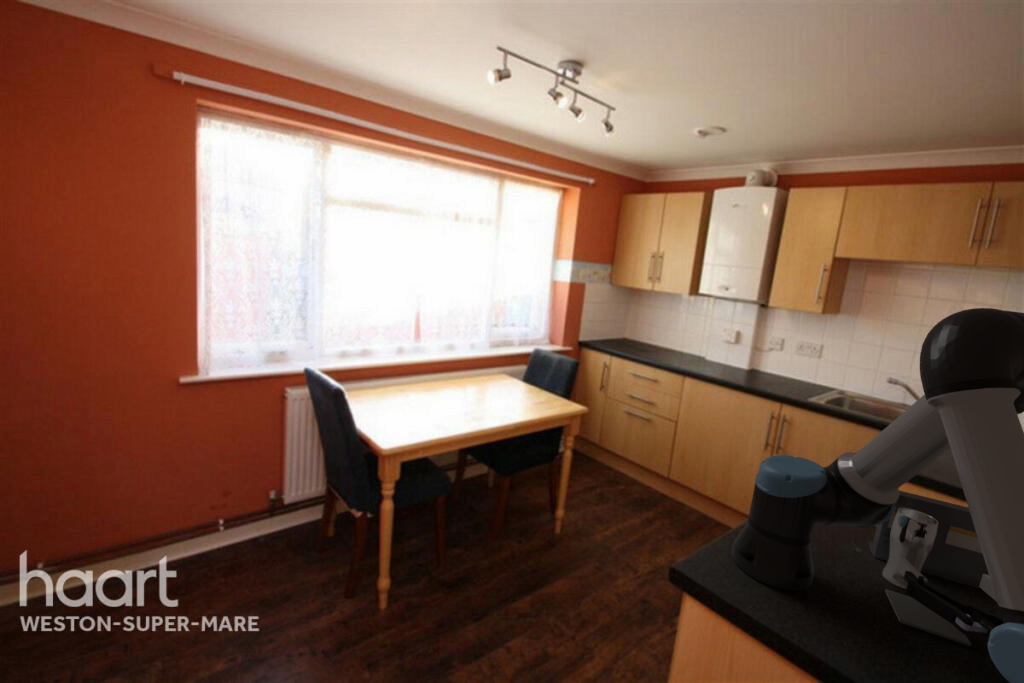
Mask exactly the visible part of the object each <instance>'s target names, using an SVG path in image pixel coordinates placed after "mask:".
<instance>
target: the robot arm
mask: <svg viewBox="0 0 1024 683" xmlns="http://www.w3.org/2000/svg"><path fill="white" fill-rule="evenodd" d="M919 375H920V381H921V385H922V389H923V393H924V394H923V395H922V396H921V397H920V398H919V399H917V400H916V401H915V402H914V403H912V405H911V406H909V407H908V409H906V410H904V412H902V413H901V414H899V416H898V417H897V418H896V419H895V420H893V421H892V422H891V423H890V424H888V426H886V427H884V429H883V430H881V432H879V433H878V434H876V436H874V437H873V439H871V440H870V441H869V442H868V443H867V444H865V446H863V447H861V449H860V450H858V451H857V452H852V451H850V452H849V451H848V452H844V453H842V454H841V455H839V456H838V457H837V458H836V459H835V460H834V461H832V463H830V464H829V465H828V466H822V465H820V464H819V463H817V462H816V461H813V460H810V459H807V458H804V457H800V456H798V457H795V456H793V455H789V454H788V455H786V454H785V455H784V454H779V455H778V454H777V455H772V456H768V457H765V458H764V459H763V460H762V461H761V462H760V465H759V468H758V471H757V473H756V476H755V480H754V481H755V482H754V483H755V484H754V487H753V493H752V498H751V503H750V508H749V511H748V512H749V513H748V518H747V522H746V523H745V524H744V526H743V528H742V529H741V531H740V532H739V533H738V535H737V537H736V538H735V540H734V541H733V544H732V549H731V557H732V560H733V561H734V563H735V564H736V565H737V566H738V568H740V569H741V570H742V571H743V572H744V573H746V574H747V575H749V576H750V577H752V578H754V579H755V580H757V581H759V582H761V583H763V584H766V585H768V586H770V587H773V588H777V589H781V590H784V591H789V592H790V591H793V592H800V591H805V590H808V589H810V588H811V587H812V585H813V581H814V576H815V570H814V563H813V555H812V554H813V553H812V549H811V547H812V546H811V543H812V540H813V539H812V538H813V534H814V530H815V527H816V526H821V527H823V526H824V527H825V526H827V527H828V526H831V527H832V526H833V527H856V528H869V527H873V526H877V525H879V524H882V523H884V522H886V521H887V520H889V519H890V518H891V516H892V515H893V514H894V512H895V509H896V507H895V506H894V504H895V503H897V500H898V498H899V491H900V489H899V488H901V486H903V485H905V483H907V482H908V481H911V479H913V478H914V477H915V476H917V475H918V474H919V473H921V472H922V471H924V470H925V469H927V468H928V467H929V466H931V465H932V464H933V463H935V462H936V461H937V460H939V459H941V457H943V456H944V455H946V454H947V453H948V452H950V451H951V455H952V458H953V460H954V464H955V468H956V471H957V473H958V474H957V475H958V477H959V481H960V484H961V487H962V490H963V493H964V496H965V500H966V503H967V507H969V510H970V514H971V517H972V520H973V523H974V527H975V530H976V533H977V537H978V540H979V543H980V546H981V550H982V553H983V556H984V560H985V563H986V566H987V569H988V575H986V574H983V575H982V579H981V582H980V585H979V587H980V588H981V589H982V590H981V589H980V590H981V591H984V593H986V594H987V595H988V596H989V597H990V598H991V599H993V600H994V601H995V602H996V603H997V606H998V609H999V612H1000V613H997V612H996V613H995V612H992V611H989V610H986V609H985V608H983V607H980V606H979V605H976V604H975V603H967V602H965V601H963V600H961V599H959V598H957V597H955V596H953V595H952V594H950V593H947V592H946V591H944V590H942V589H940V588H938V587H936V586H934V585H932V584H930V583H928V582H929V580H928V579H927V577H925V575H923V574H922V572H919V571H918V570H917V569H916V568H915V567H914V566H913V565H912V564H910V563H909V562H908V561H907V560H906V559H905V558H901V560H900V563H899V567H898V571H899V572H900V573H901V575H902V576H903V577H904V579H905V580H906V582H908V584H907V587H906V589H905V593H904V594H906V596H910V597H912V598H913V599H915V600H916V601H918V602H919V603H921V604H922V605H924V606H925V607H927V608H928V609H930V610H931V611H933V612H934V613H936V614H937V615H939V616H940V617H942V618H943V619H945V620H946V621H948V622H949V623H951V624H952V625H953V626H954V627H956V628H957V629H958V630H959V631H960V632H961V633H963V634H965V635H966V636H970V635H971V632H976V633H979V634H980V635H981V636H983V637H984V638H986V639H987V640H988V642H987V650H988V654H989V657H990V659H991V661H992V662H993V664H994V666H995V668H996V669H997V670H998V671H999V673H1000V675H1002V677H1003V678H1004V679H1006V681H1008V682H1009V683H1024V430H1023V426H1022V424H1021V422H1020V418H1019V415H1020V414H1022V413H1024V312H1020V311H1012V310H1002V309H999V308H991V307H977V308H976V307H975V308H969V309H964V310H960V311H957V312H955V313H952V314H950V315H948V316H946V317H945V318H943V319H941V320H940V321H938V322H936V324H935V325H934V326H933V327H932V328H931V329H930V330H929V331H928V333H927V334H926V337H925V338H924V340H923V343H922V345H921V349H920V354H919ZM975 612H976V613H978V616H977V619H976V621H974V619H973V618H974V615H975Z"/></svg>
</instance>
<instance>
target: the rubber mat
mask: <svg viewBox="0 0 1024 683" xmlns="http://www.w3.org/2000/svg"><path fill="white" fill-rule="evenodd" d="M884 590H885V592H884V593H885V594H886V597H887V599H888V600H889V602H890V605H891V607H892V609H893V611H894V613H895V616H896V617H897V619H898V622H899V623H900V624H903V625H906V626H909V627H912V628H914V629H918V630H921V631H924V632H927V633H930V634H933V635H935V636H939V637H940V638H941V637H942V638H945V639H947V640H950V641H952V642H956V643H959V644H962V645H965V646H967V647H971V646H972V643H971V641H970V639H969V638H968V637H967V635H965V634H963V633H961V632H960V631H959V630H958V629H957V628H956V627H954V626H953V625H952V624H951V623H949V622H948V621H946V620H945V619H943V618H942V617H940V616H939V615H937V614H936V613H934V612H933V611H931V610H930V609H928V608H927V607H925V606H924V605H922V604H921V603H919V602H918V601H916V600H915V599H913V598H912V597H910V596H909V595H907V594H906V595H905V594H903V593H900V592H897V591H894V590H890V589H887V588H885V589H884Z"/></svg>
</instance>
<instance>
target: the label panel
mask: <svg viewBox="0 0 1024 683" xmlns="http://www.w3.org/2000/svg"><path fill="white" fill-rule="evenodd" d="M894 506H895V507H896V509H895V512H894V514H893V515H892V516H891V518H890V519H889V520H887V521H886V522H884V523H882V524H879V525H876V529H875V533H874V536H873V537H874V538H873V540H872V539H870V540H869V541H868V545H869V546H868V548H869V547H870V548H869V550H870V552H871V555H872V554H873V555H872V556H874V557H875V559H878V560H881V561H884V560H885V562H888V559H889V547H890V532H891V527H892V524H893V521H894V518H895V516H896V513H897V510H898V508H909V509H914V510H917V511H920V512H923V513H925V514H927V515H930V516H931V517H933V518H935V519H936V520H937V521H938V522H939V524H938V529H937V535H936V540H935V544H934V546H933V549H932V551H931V553H930V555H929V557H928V559H927V560H926V562H925V564H924V565H923V567H922V569H921V572H920V573H924V574H928V575H931V576H934V575H935V577H938V576H939V577H938V578H941V577H942V579H944V578H945V580H948V579H949V580H948V581H951V580H952V581H951V582H954V581H955V582H954V583H958V584H961V583H962V585H964V584H966V585H965V586H968V585H969V586H968V587H971V586H973V587H972V588H974V587H977V588H976V589H978V588H980V587H979V585H980V582H981V579H982V575H983V574H986V575H988V576H989V573H988V569H987V566H986V563H985V560H984V556H983V553H982V550H981V546H980V543H979V540H978V537H977V533H976V530H975V527H974V523H973V520H972V517H971V514H970V510H969V507H968V506H965V505H961V504H960V505H959V504H957V503H952V502H948V501H945V500H941V499H940V500H939V499H936V498H932V497H927V496H922V495H919V494H916V493H913V492H912V493H911V492H906V491H904V490H899V498H898V500H897V503H895V504H894ZM874 557H873V558H874Z"/></svg>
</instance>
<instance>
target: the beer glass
mask: <svg viewBox="0 0 1024 683" xmlns="http://www.w3.org/2000/svg"><path fill="white" fill-rule="evenodd" d="M938 524H939V522H938V521H937V520H936V519H935V518H933V517H931V516H930V515H927V514H925V513H923V512H920V511H917V510H914V509H909V508H898V510H897V513H896V516H895V518H894V521H893V524H892V527H891V532H890V547H889V559H888V561H886V565H885V566H884V568H883V569H882V572H881V574H882V577H883V578H884V579H885V580H887V581H888V582H889V583H891V585H892V584H893V585H894V586H896V587H899V588H901V589H902V590H903V589H904V590H906V587H907V584H908V582H906V580H905V579H904V577H903V576H902V575H901V573H900V572H899V571H898V567H899V563H900V560H901V558H905V559H906V560H907V561H908V562H909V563H910V564H912V565H913V566H914V567H915V568H916V569H917V570H918V571H919V572H920V573H922V572H921V569H922V567H923V565H924V564H925V562H926V560H927V559H928V557H929V555H930V553H931V551H932V549H933V546H934V544H935V540H936V535H937V529H938Z"/></svg>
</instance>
